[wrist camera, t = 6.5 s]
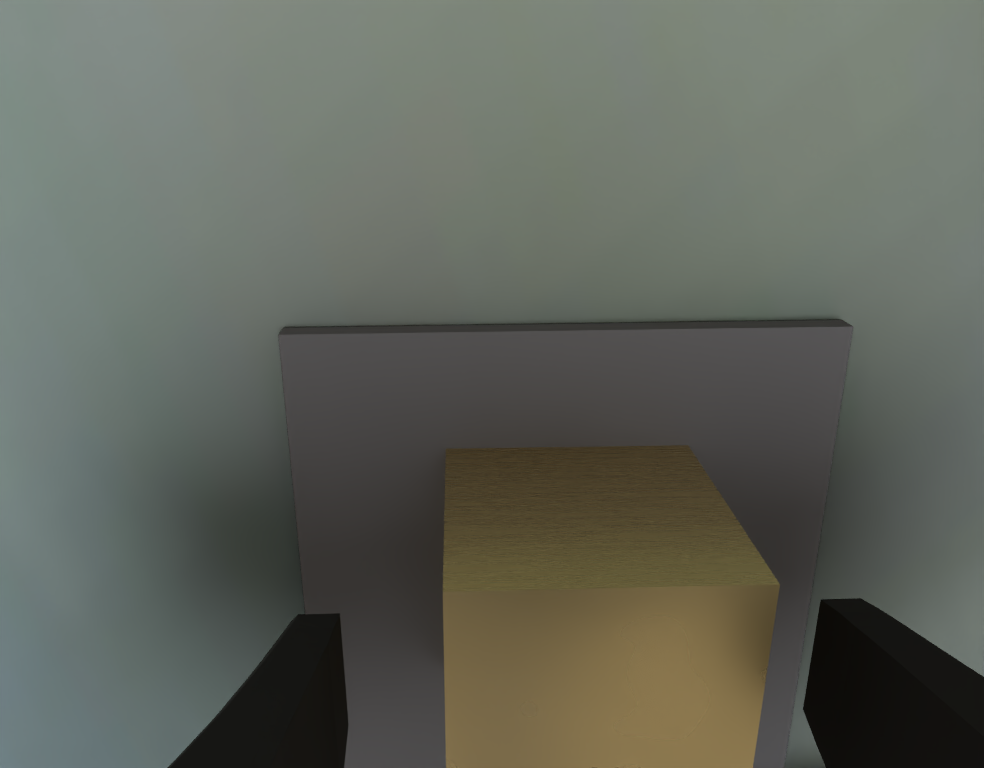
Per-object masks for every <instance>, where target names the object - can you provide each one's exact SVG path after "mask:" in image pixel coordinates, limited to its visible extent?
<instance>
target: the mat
mask: <svg viewBox="0 0 984 768" xmlns="http://www.w3.org/2000/svg"><path fill="white" fill-rule="evenodd" d="M852 332H853V326H852V325H850V324H848V323H846V322H845V321H843V320H794V321H722V322H650V323H579V324H507V325H435V326H364V327H292V328H283V329H282V330H281V332H280V333H279V335H278V336H279V347H280V357H281V368H282V378H283V389H284V399H285V409H286V420H287V430H288V441H289V451H290V461H291V472H292V482H293V493H294V503H295V513H296V524H297V534H298V545H299V555H300V565H301V576H302V586H303V597H304V607H305V614H332V613H340V621H341V634H342V646H343V659H344V672H345V684H346V697H347V710H348V723H349V726H348V736H347V745H346V755H345V764H344V768H446V740H445V686H444V633H443V556H444V510H445V464H446V449H464V448H535V447H606V446H676V445H688V446H689V447H690V449H691V450H692V452H693V453H694V455H695V456H696V458H697V459H698V461H699V462H700V464H701V465H702V467H703V469H704V470H705V472H706V473H707V475H708V476H709V478H710V479H711V481H712V482H713V484H714V485H715V487H716V488H717V490H718V491H719V493H720V494H721V496H722V497H723V499H724V500H725V502H726V503H727V505H728V506H729V508H730V509H731V511H732V512H733V514H734V516H735V517H736V519H737V520H738V522H739V523H740V525H741V526H742V528H743V529H744V531H745V532H746V534H747V535H748V537H749V538H750V540H751V541H752V543H753V544H754V546H755V547H756V549H757V550H758V552H759V553H760V555H761V556H762V558H763V559H764V561H765V562H766V564H767V566H768V567H769V569H770V570H771V572H772V573H773V575H774V576H775V578H776V579H777V581H778V582H779V584H780V588H779V594H778V601H777V608H776V614H775V621H774V628H773V635H772V641H771V648H770V655H769V662H768V668H767V675H766V682H765V689H764V695H763V702H762V709H761V716H760V722H759V729H758V736H757V743H756V749H755V756H754V763H753V768H784V765H785V759H786V753H787V746H788V740H789V734H790V727H791V721H792V714H793V708H794V702H795V695H796V689H797V683H798V676H799V670H800V663H801V657H802V651H803V644H804V638H805V632H806V625H807V619H808V612H809V606H810V600H811V593H812V587H813V581H814V574H815V568H816V562H817V555H818V549H819V542H820V536H821V530H822V523H823V517H824V511H825V504H826V498H827V491H828V485H829V479H830V472H831V466H832V460H833V453H834V447H835V440H836V434H837V428H838V421H839V415H840V409H841V402H842V396H843V389H844V383H845V377H846V370H847V364H848V358H849V351H850V345H851V339H852Z"/></svg>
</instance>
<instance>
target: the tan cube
mask: <svg viewBox="0 0 984 768" xmlns="http://www.w3.org/2000/svg"><path fill="white" fill-rule="evenodd" d="M779 588H780V584H779V582H778V581H777V579H776V578H775V576H774V575H773V573H772V572H771V570H770V569H769V567H768V566H767V564H766V562H765V561H764V559H763V558H762V556H761V555H760V553H759V552H758V550H757V549H756V547H755V546H754V544H753V543H752V541H751V540H750V538H749V537H748V535H747V534H746V532H745V531H744V529H743V528H742V526H741V525H740V523H739V522H738V520H737V519H736V517H735V516H734V514H733V512H732V511H731V509H730V508H729V506H728V505H727V503H726V502H725V500H724V499H723V497H722V496H721V494H720V493H719V491H718V490H717V488H716V487H715V485H714V484H713V482H712V481H711V479H710V478H709V476H708V475H707V473H706V472H705V470H704V469H703V467H702V465H701V464H700V462H699V461H698V459H697V458H696V456H695V455H694V453H693V452H692V450H691V449H690V447H689V446H688V445H676V446H606V447H535V448H464V449H446V464H445V510H444V556H443V633H444V686H445V740H446V768H753V763H754V756H755V749H756V743H757V736H758V729H759V722H760V716H761V709H762V702H763V695H764V689H765V682H766V675H767V668H768V662H769V655H770V648H771V641H772V635H773V628H774V621H775V614H776V608H777V601H778V594H779Z"/></svg>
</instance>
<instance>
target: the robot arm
mask: <svg viewBox="0 0 984 768" xmlns="http://www.w3.org/2000/svg"><path fill="white" fill-rule="evenodd" d="M803 710H804V713H805V715H806V718H807V721H808V723H809V726H810V728H811V731H812V734H813V736H814V739H815V742H816V744H817V747H818V749H819V752H820V754H821V756H822V759H823V761H824V764H825V766H826V768H984V677H983V676H982V675H980V674H978V673H977V672H975V671H974V670H972V669H971V668H969V667H968V666H966V665H964V664H963V663H961V662H960V661H958V660H957V659H955V658H954V657H952V656H951V655H949V654H948V653H946V652H945V651H943V650H941V649H940V648H938V647H937V646H935V645H934V644H932V643H931V642H929V641H928V640H926V639H925V638H923V637H922V636H920V635H919V634H917V633H916V632H914V631H913V630H911V629H910V628H908V627H906V626H905V625H903V624H902V623H900V622H899V621H897V620H896V619H894V618H893V617H891V616H889V615H888V614H886V613H885V612H883V611H881V610H880V609H878V608H876V607H875V606H873V605H871V604H870V603H868V602H866V601H864V600H863V599H861V598H858V599H823V600H821V602H820V608H819V614H818V620H817V626H816V633H815V639H814V645H813V651H812V657H811V663H810V670H809V676H808V682H807V688H806V694H805V700H804V707H803ZM348 726H349V723H348V710H347V697H346V684H345V672H344V659H343V646H342V634H341V621H340V613H332V614H298V615H297V616H296V617H295V618H294V619H293V620H292V621H291V622H290V624H289V625H288V626H287V628H286V629H285V630H284V632H283V633H282V634H281V636H280V637H279V638H278V640H277V641H276V643H275V644H274V645H273V647H272V648H271V649H270V650H269V652H268V653H267V654H266V656H265V657H264V658H263V660H262V661H261V662H260V663H259V665H258V666H257V667H256V668H255V670H254V671H253V672H252V674H251V675H250V676H249V677H248V679H247V680H246V681H245V682H244V683H243V685H242V686H241V687H240V688H239V689H238V691H237V692H236V693H235V694H234V695H233V696H232V698H231V699H230V700H229V701H228V702H227V704H226V705H225V706H224V707H223V708H222V710H221V711H220V712H219V713H218V714H217V715H216V717H215V718H214V719H213V720H212V721H211V722H210V723H209V724H208V725H207V726H206V728H205V729H204V730H203V731H202V732H201V733H200V734H199V735H198V736H197V737H196V738H195V739H194V740H193V742H192V743H191V744H190V745H189V746H188V747H187V748H186V749H185V750H184V751H183V752H182V753H181V754H180V755H179V757H178V758H177V759H176V760H175V761H174V762H173V763H172V764H171V765H170V766H169V767H168V768H344V764H345V755H346V745H347V736H348Z"/></svg>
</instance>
